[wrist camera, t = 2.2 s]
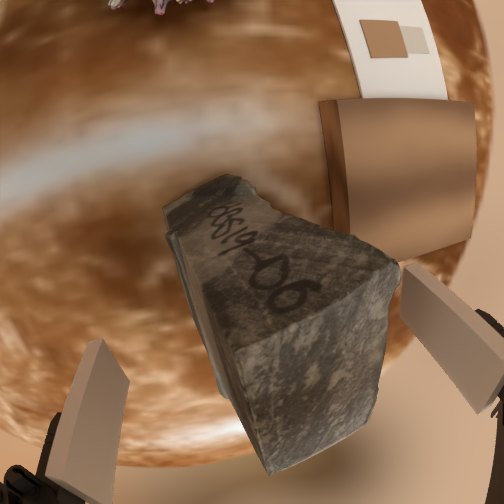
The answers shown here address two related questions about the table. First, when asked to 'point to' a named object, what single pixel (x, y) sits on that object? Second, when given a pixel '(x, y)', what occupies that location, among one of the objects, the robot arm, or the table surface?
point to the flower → (159, 3)
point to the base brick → (401, 171)
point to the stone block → (283, 316)
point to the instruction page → (391, 48)
